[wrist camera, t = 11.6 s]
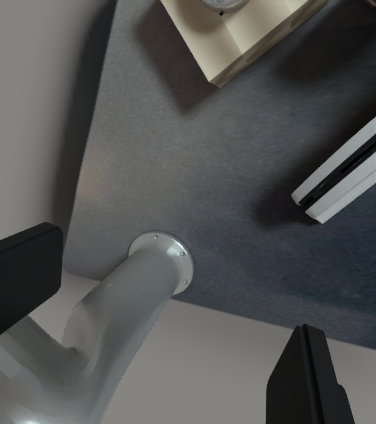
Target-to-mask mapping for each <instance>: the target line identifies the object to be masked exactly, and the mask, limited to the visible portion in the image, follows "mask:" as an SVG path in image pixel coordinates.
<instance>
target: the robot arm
mask: <svg viewBox="0 0 376 424" xmlns="http://www.w3.org/2000/svg"><path fill="white" fill-rule="evenodd" d="M62 254H63V232H62V231H61V228H60V227H58V226H56V225H53V224H51V223H48V222H44V223H41V224H39V225H36V226H34V227H31V228H29V229H26V230H24V231H22V232H19V233H17V234H14V235H12V236H9V237H7V238H4V239H2V240H0V424H101V423H102V420H103V418H104V415H105V413H106V411H107V408H108V406H109V404H110V401H111V399H112V397H113V395H114V393H115V390H116V389H117V387H118V384H119V382H120V381H121V379H122V377H123V375H124V373H125V372H126V370H127V368H128V367H129V365H130V363H131V361H132V360H133V358H134V356H135V355H136V353H137V352H138V350H139V348H140V347H141V345H142V343H143V341H144V340H145V339H146V337H147V335H148V333H149V332H150V330H151V329H152V327H153V326H154V324H155V322H156V321H157V319H158V317H159V316H160V314H161V313H162V311H163V309H164V308H165V306H166V304H167V303H168V301H169V300H170V298H171V296H172V295H175V294H178V293H180V292H182V291H184V290H185V289H186V288H187V287H188V285H189V284H190V282H191V280H192V278H193V274H194V263H193V259H192V257H191V254H190V252H189V251H188V249H187V248H186V247H185V245H184V244H183V243H182V242H181V241H180V240H178V239H177V238H175V237H174V236H172V235H170V234H168V233H165V232H160V231H150V232H146V233H144V234H142V235H140V236H139V237H138V238H136V239H135V240H134V241H133V243H132V244H131V246H130V249H129V254H128V258H127V259H126V260H125V261H124V262H123V263H122V264H120V265H119V266H118V267H117V268H116V269H115V270H114V271H113V272H112V273H110V274H109V275H108V276H107V277H106V278H105V279H104V280H103V281H102V282H100V283H99V284H98V285H97V286H96V287H95V288H94V289H93V290H92V291H91V292H89V293H88V294H87V295H86V296H85V297H84V298H83V299H82V300H81V301H80V302H79V303H78V304H77V305H76V306H75V307H74V309H73V310H72V312H71V313H70V316H69V317H68V319H67V322H66V325H65V328H64V333H63V337H62V343H61V344H59V343H58V342H57V341H56V340H55V339H53V338H52V337H51V336H50V335H49V334H47V333H46V332H45V331H44V330H43V329H42V328H41V327H40V326H39V325H38V324H37V323H36V322H35V321H34V320H33V319H32V318H31V317H29V316H28V314H29V313H30V312H32V311H33V310H34V309H36V308H37V307H38V306H40V305H41V304H42V303H44V302H45V301H46V300H48V299H49V298H50V297H52V296H53V295H54V294H55V293H57V291H58V290H59V288H60V286H61V272H62ZM266 424H355V422H354V419H353V415H352V412H351V408H350V405H349V401H348V398H347V394H346V392H345V389H344V388H343V387H342V385H339V384H338V383H337V379H336V375H335V371H334V368H333V364H332V360H331V356H330V352H329V348H328V345H327V341H326V337H325V334H324V332H323V331H322V330H319V329H317V328H314V327H312V326H309V325H307V324H304V325H303V326H302V327H300V326H296V328H295V329H294V331H293V333H292V335H291V337H290V339H289V341H288V343H287V345H286V347H285V349H284V351H283V353H282V354H281V356H280V359H279V360H278V362H277V364H276V366H275V368H274V370H273V372H272V374H271V376H270V378H269V380H268V384H267V391H266Z"/></svg>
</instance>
